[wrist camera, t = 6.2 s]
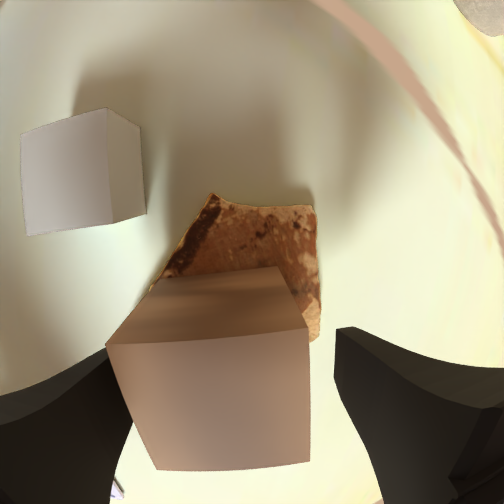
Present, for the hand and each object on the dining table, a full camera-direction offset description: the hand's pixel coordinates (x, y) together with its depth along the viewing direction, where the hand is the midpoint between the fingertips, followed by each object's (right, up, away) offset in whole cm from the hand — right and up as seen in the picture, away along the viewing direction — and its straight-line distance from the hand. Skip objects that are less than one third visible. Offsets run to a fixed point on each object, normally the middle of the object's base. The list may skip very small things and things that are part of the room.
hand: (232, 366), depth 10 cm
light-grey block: (-6, +7, +3) cm, 10 cm away
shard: (0, +1, +5) cm, 6 cm away
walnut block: (-1, 0, +3) cm, 4 cm away
